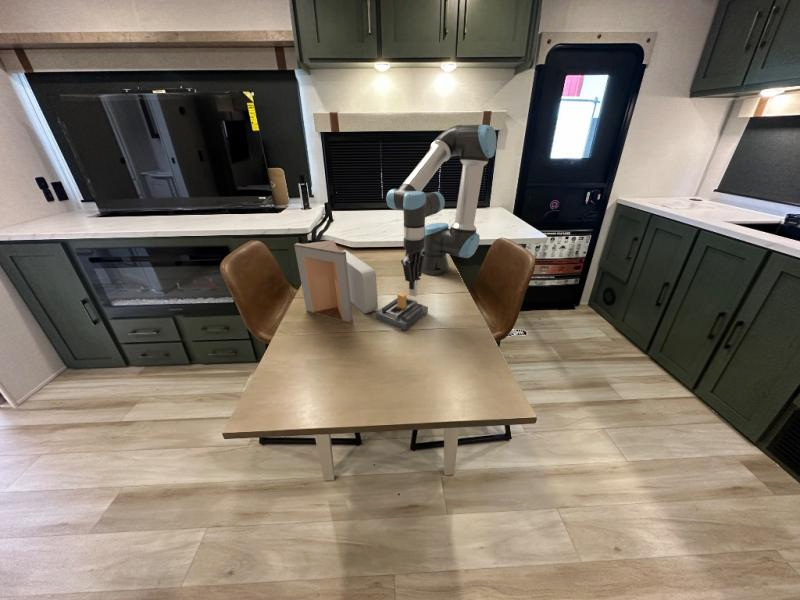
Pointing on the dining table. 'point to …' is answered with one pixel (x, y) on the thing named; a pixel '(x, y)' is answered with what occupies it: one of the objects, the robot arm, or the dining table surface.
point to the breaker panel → (395, 316)
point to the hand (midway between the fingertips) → (413, 295)
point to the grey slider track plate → (407, 315)
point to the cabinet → (325, 279)
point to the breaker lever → (401, 301)
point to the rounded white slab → (362, 284)
